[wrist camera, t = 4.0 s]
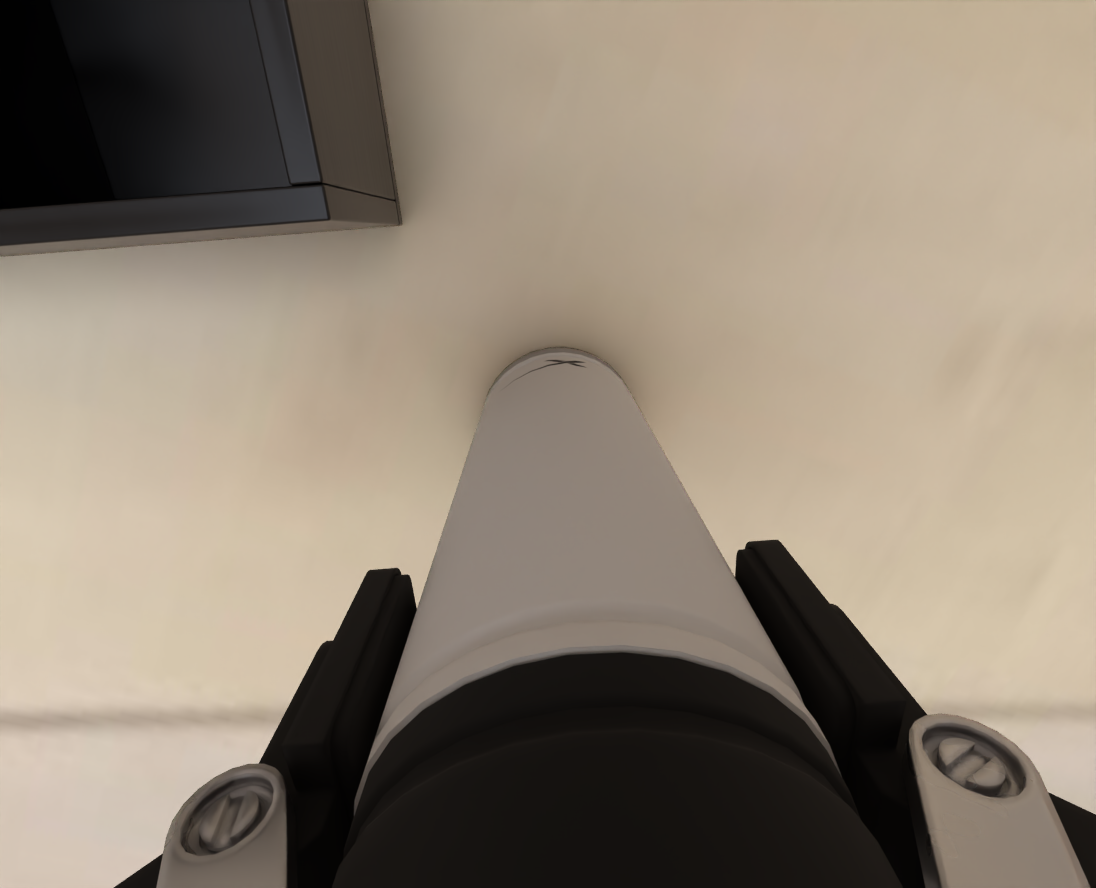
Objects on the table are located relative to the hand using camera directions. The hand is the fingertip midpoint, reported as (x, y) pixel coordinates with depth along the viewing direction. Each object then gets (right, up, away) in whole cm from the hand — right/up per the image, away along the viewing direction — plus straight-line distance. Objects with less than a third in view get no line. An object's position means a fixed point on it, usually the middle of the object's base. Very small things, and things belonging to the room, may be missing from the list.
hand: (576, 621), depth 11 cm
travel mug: (0, +5, +12) cm, 13 cm away
